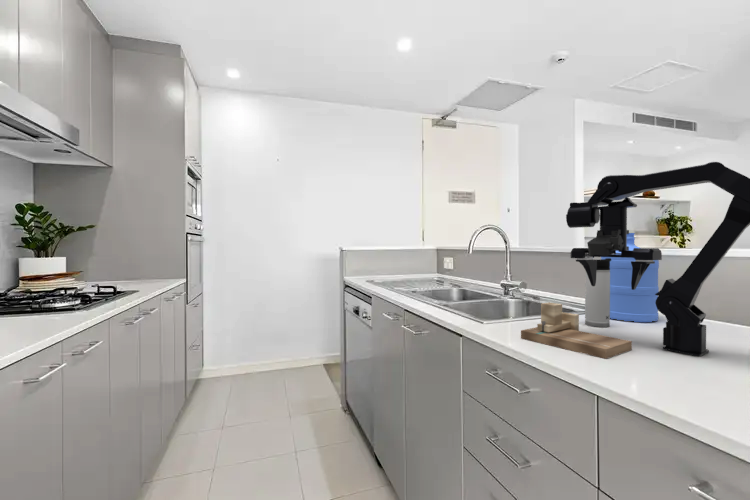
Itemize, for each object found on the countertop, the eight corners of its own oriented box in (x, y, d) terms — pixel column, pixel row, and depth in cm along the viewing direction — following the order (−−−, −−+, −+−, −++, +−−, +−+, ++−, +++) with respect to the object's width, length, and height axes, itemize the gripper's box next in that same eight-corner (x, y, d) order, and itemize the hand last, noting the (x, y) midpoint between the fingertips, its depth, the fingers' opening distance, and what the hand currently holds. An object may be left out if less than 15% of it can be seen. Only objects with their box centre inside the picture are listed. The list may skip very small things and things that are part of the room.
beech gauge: (578, 333, 93) (578, 302, 93) (552, 340, 86) (552, 306, 86) (559, 330, 97) (560, 300, 97) (533, 336, 91) (533, 303, 91)
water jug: (671, 323, 110) (672, 232, 109) (620, 323, 110) (620, 232, 109) (635, 313, 125) (635, 234, 125) (590, 313, 125) (590, 234, 125)
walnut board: (631, 349, 81) (631, 340, 81) (605, 358, 74) (606, 348, 74) (547, 332, 98) (547, 324, 98) (520, 338, 91) (520, 330, 91)
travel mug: (614, 328, 103) (615, 258, 103) (589, 327, 104) (590, 258, 104) (605, 323, 109) (605, 258, 109) (581, 322, 110) (582, 257, 110)
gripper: (559, 227, 94) (558, 286, 94) (642, 223, 78) (641, 294, 78) (581, 228, 100) (581, 283, 100) (662, 224, 84) (662, 290, 84)
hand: (612, 287), depth 90 cm, fingers open, 9 cm apart
